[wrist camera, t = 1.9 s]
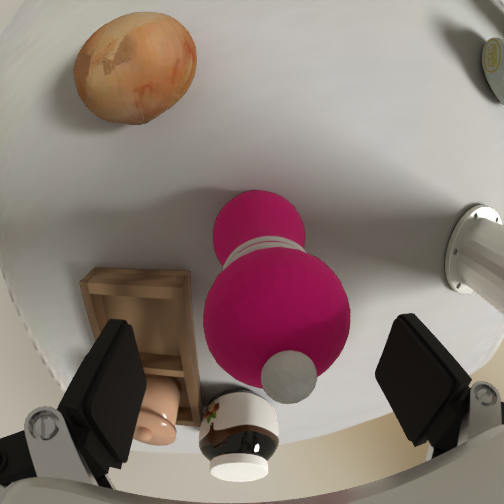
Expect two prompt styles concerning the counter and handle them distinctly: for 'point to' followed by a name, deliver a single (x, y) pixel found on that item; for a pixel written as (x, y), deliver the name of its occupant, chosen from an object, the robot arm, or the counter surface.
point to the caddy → (152, 324)
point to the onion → (135, 67)
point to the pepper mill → (272, 300)
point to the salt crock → (158, 410)
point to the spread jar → (238, 435)
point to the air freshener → (494, 66)
